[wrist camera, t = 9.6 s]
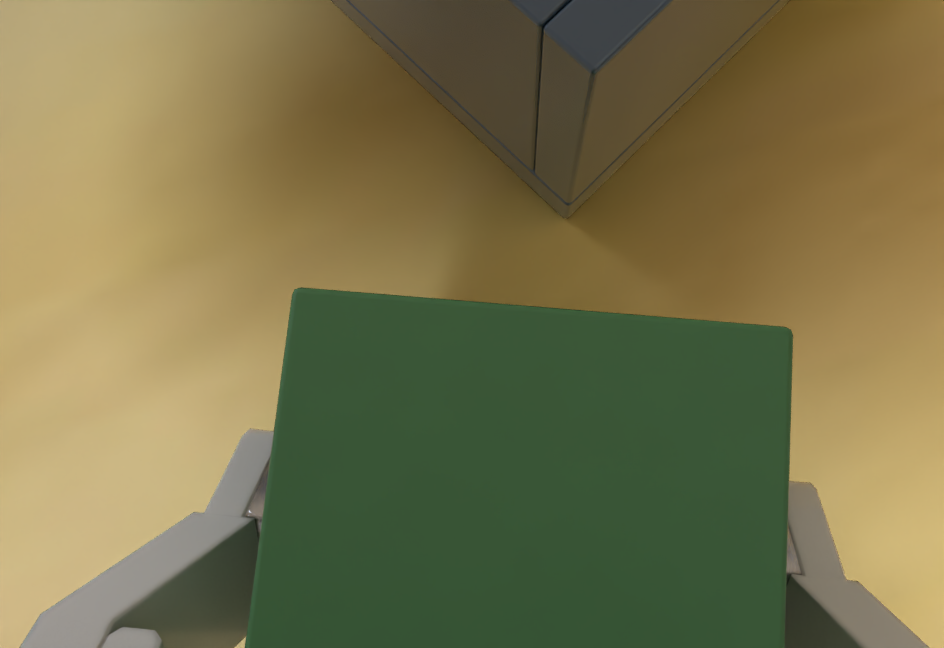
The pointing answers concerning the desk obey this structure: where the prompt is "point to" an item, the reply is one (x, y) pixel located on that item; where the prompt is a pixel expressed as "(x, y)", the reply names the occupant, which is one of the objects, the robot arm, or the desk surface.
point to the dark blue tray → (562, 73)
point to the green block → (523, 479)
